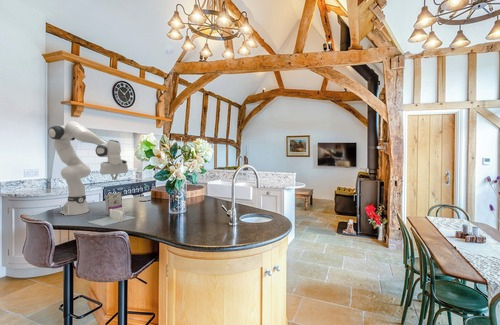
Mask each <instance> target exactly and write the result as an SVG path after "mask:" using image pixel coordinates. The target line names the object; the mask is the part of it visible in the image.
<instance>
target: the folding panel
mask: <svg viewBox="0 0 500 325" xmlns="http://www.w3.org/2000/svg"><path fill="white" fill-rule="evenodd" d="M111 218H113V219H118V220H123V212H122V211H116V210H111Z"/></svg>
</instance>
